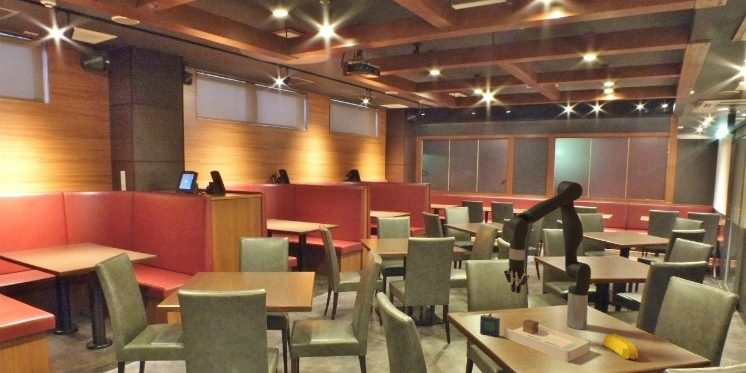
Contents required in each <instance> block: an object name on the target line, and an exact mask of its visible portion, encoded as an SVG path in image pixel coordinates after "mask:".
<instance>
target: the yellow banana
mask: <svg viewBox="0 0 746 373" xmlns="http://www.w3.org/2000/svg"><path fill="white" fill-rule="evenodd" d="M603 345H604V346H605V348H606V349H608V350H611V351H612V352H615V353H616V354H617V355H619V356H620V357H621V358H623V359H625V360H628V359H630V360H636V359H639V350H638V347H637V346H636V345H635V344H634V343H633V342H631V341H630V340H628V339H626V337H623V336H621V335H619V334H616V333H613V334H609V333H608V334H607V335H606V336H605V337H604V340H603Z"/></svg>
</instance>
